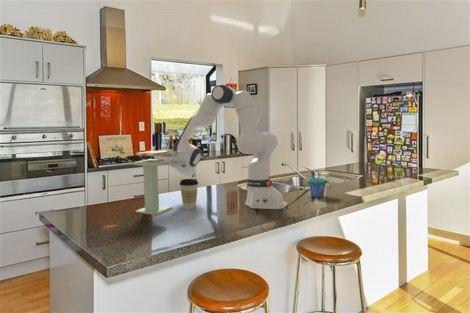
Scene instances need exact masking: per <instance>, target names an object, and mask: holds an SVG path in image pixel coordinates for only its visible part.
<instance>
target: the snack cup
mask: <svg viewBox="0 0 470 313" xmlns="http://www.w3.org/2000/svg"><path fill="white" fill-rule="evenodd" d="M306 183H307V184H308V187H309V192H310V196H311V198H323V197H324V196H325V190H326V183H328V184H329V192H331V189H332V186H331V182H330V181H329V180H327V179H326V178H321V177H311V178H308V179H307V180H306V181H305V182H304V183H303V190H304V192H305V191H306V188H305V186H306V185H305V184H306Z"/></svg>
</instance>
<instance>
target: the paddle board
mask: <svg viewBox="0 0 470 313" xmlns="http://www.w3.org/2000/svg"><path fill="white" fill-rule="evenodd" d="M170 150H171V151H174V148H173V149H170ZM169 153H170V151H167V149H162V150H160V151H158V150H147V151H139V152H136V153H135V154H136V156H151V157H153V156H158V155H163V154H169Z"/></svg>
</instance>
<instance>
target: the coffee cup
mask: <svg viewBox="0 0 470 313" xmlns="http://www.w3.org/2000/svg"><path fill="white" fill-rule="evenodd" d="M198 184H199V182H198V180H197V179H196V178H184V179H181V180H180V182H179V186H180V193H181V200H182V204H183V210H186V211H187V210H188V211H189V210H190V211H191V210H195V209H196V208H197V207H196V206H197V198H198Z"/></svg>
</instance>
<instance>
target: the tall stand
mask: <svg viewBox="0 0 470 313" xmlns="http://www.w3.org/2000/svg"><path fill="white" fill-rule="evenodd" d="M169 163H171V160H164V159H155V158H148V159H144V160H138V161H133V164H132V165H133V166H142V169H143V189H144V190H143V192H144V193H143V194H144V207H142V208H139V209H136V210H135V213H136V214H145V215H153V216H158V215H160V214H164V213H166V212H168V211H171V210H173V209H174V207H173V206H171V205H168V206H167V205H160V204H159V203H160V198H159V178H158V177H159V175H158V166H161V165H167V164H169ZM170 209H171V210H170Z"/></svg>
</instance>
